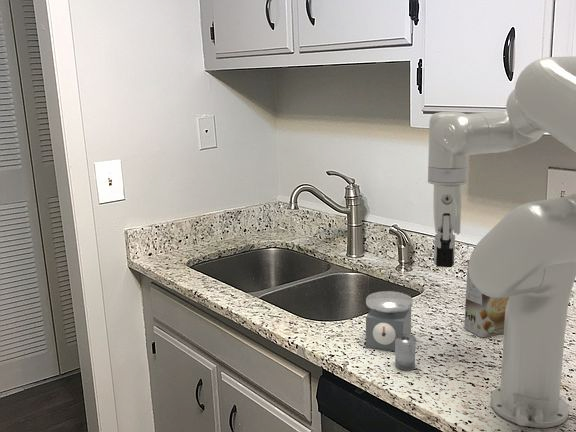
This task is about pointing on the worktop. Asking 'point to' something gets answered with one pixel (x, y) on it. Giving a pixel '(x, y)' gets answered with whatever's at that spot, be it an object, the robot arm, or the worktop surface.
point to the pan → (389, 301)
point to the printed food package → (483, 312)
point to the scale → (386, 328)
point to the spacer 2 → (437, 246)
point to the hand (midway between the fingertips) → (444, 262)
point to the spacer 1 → (405, 352)
